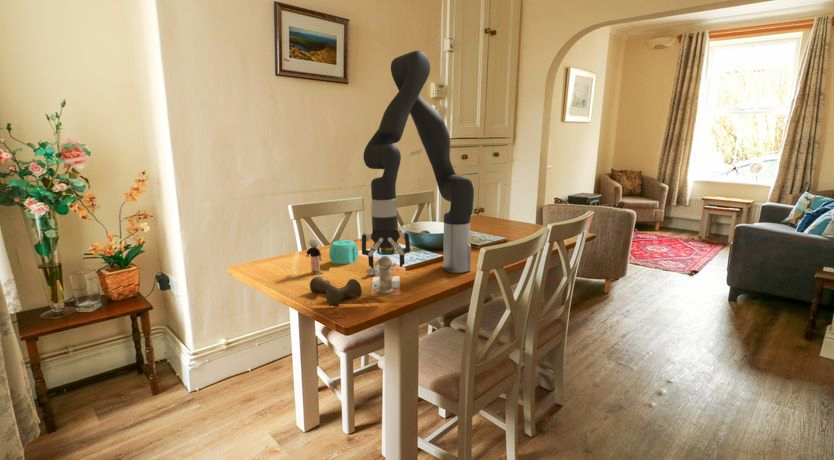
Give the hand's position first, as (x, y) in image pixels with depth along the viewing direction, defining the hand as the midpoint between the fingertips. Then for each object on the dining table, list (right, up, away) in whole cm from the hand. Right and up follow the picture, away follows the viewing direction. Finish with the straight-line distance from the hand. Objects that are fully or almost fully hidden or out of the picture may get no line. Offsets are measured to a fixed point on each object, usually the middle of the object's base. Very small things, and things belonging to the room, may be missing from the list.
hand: (386, 266), depth 133 cm
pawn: (0, -8, +2) cm, 8 cm away
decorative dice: (-18, -2, +35) cm, 40 cm away
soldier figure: (-3, -5, +20) cm, 21 cm away
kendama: (-15, -10, 0) cm, 18 cm away
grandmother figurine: (-27, -4, +24) cm, 36 cm away
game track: (-1, -7, +8) cm, 11 cm away
